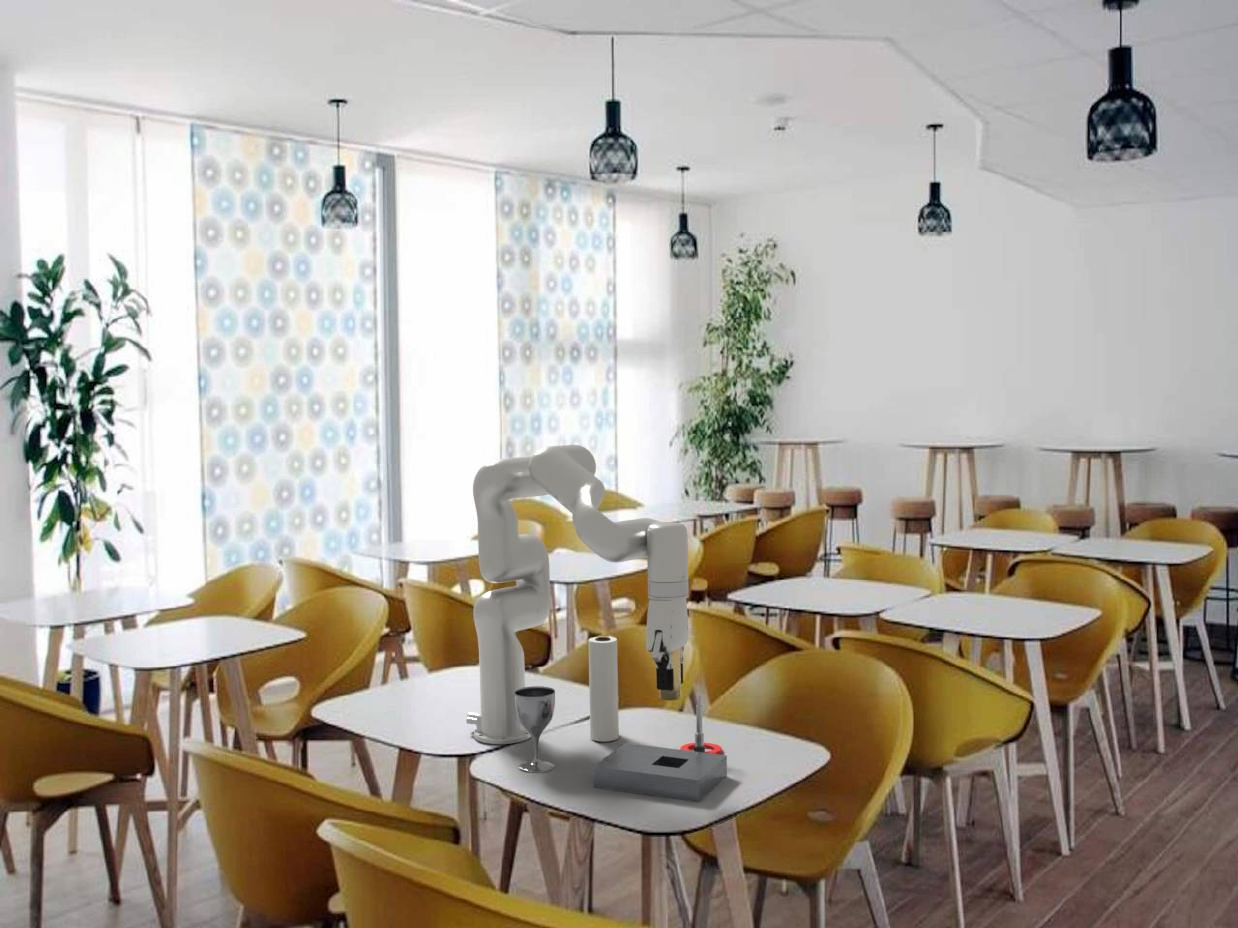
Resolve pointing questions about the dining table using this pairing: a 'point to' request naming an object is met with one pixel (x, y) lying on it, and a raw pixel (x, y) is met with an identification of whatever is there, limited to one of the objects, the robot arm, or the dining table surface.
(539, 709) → the wine glass
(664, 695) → the brass pin
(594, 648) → the paper towel roll
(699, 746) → the tow hook
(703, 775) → the grey block with hole
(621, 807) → the dining table surface
